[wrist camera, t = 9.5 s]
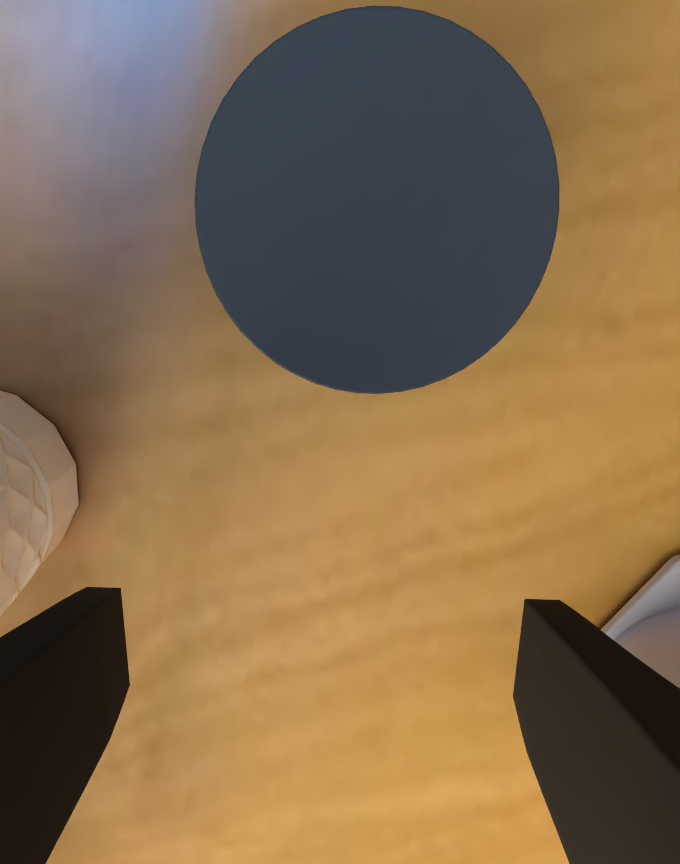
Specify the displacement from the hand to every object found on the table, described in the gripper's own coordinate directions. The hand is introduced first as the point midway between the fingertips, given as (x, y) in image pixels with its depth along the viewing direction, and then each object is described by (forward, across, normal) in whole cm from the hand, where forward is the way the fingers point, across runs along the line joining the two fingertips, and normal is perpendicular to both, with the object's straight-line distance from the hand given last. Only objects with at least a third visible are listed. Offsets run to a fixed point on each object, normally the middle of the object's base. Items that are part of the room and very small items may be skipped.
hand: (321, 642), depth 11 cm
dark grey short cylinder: (+6, -1, -7) cm, 9 cm away
